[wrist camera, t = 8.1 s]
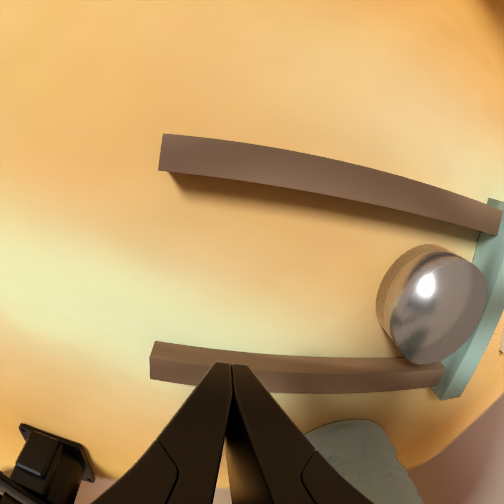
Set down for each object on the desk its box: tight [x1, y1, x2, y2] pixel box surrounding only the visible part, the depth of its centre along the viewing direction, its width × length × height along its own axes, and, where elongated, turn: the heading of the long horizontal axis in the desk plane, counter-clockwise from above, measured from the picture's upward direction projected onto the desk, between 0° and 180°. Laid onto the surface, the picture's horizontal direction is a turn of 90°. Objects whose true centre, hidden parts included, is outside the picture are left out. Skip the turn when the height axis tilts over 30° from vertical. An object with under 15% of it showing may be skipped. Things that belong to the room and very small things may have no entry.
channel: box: [150, 134, 504, 400], centre depth 14 cm, size 13×20×2 cm, turn 81°
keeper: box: [376, 244, 487, 365], centre depth 15 cm, size 6×6×3 cm
